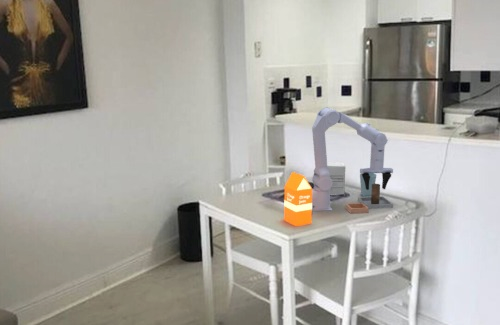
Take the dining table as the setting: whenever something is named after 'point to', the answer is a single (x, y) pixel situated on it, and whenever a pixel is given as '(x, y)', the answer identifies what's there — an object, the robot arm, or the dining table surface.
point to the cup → (372, 181)
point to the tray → (382, 204)
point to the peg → (375, 194)
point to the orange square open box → (357, 208)
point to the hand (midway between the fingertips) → (375, 189)
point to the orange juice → (298, 200)
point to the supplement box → (337, 177)
